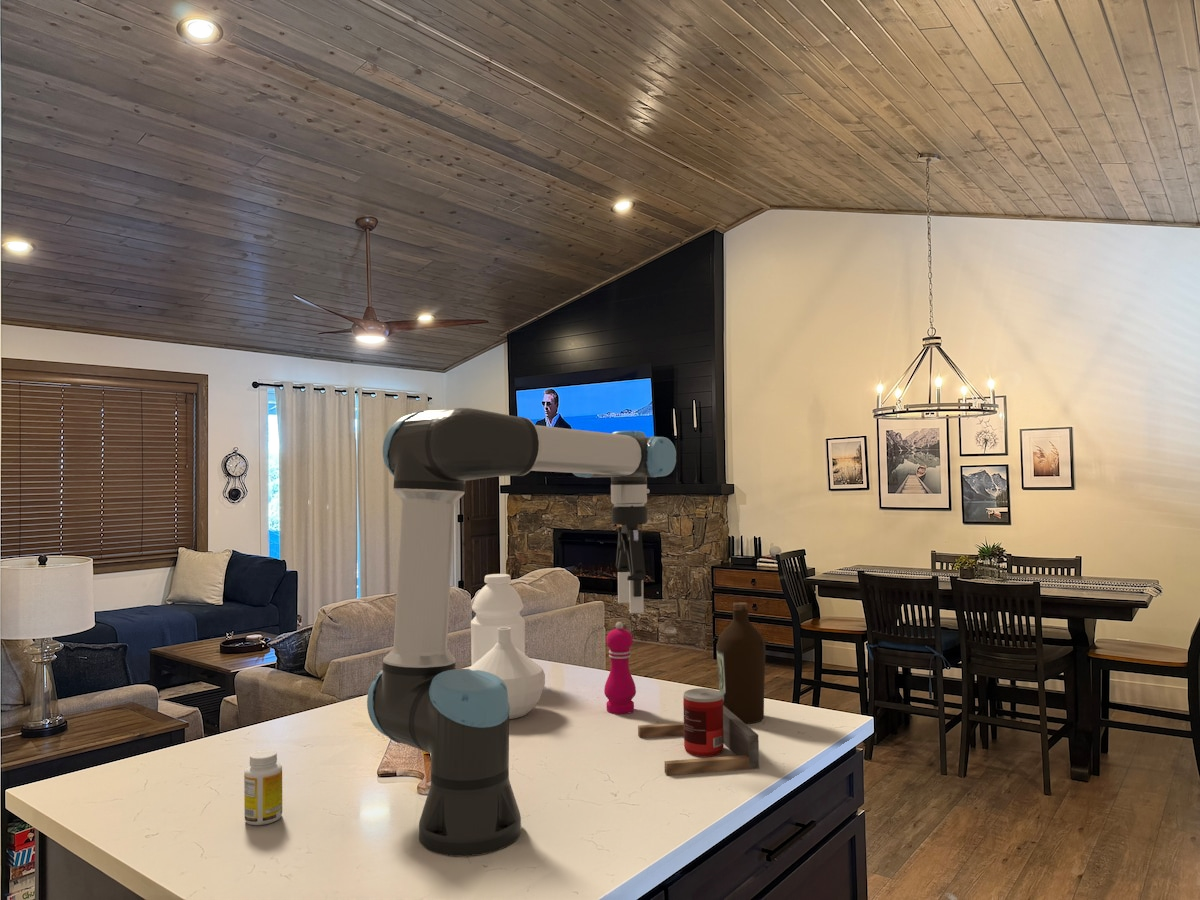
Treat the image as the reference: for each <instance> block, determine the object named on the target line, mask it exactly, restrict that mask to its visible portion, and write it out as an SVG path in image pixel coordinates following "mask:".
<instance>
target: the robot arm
mask: <svg viewBox="0 0 1200 900" xmlns="http://www.w3.org/2000/svg"><path fill="white" fill-rule="evenodd" d="M382 458H383V462H384V465H385V467H387V468H388V471H389V473H390V474H391V475H392V476H393V489H392V490H393V492H394V493H395V494H396V495H397V496H398V498H399V499H400V500H401V515H400V518H401V519H400V530H399V533H400V534H399V548H398V549H399V550H398V562H397V563H398V564H397V565H398V566H397V580H396V581H397V582H396V583H397V584H396V599H395V613H394V631H393V632H394V633H393V647H392V650H390V651H389V652H388V653H387V655H385V656H384V657H383V660H382V670H380V671H379V673H377V675H376V679H374V680H373V681H372V682H371V684H370V686H369V688H368V693H367V699H366V707H367V713H368V717H369V719H370V721H371V723H372V725H373V726H374V728H375V729H376V730H377V731H378V732H380V734H382V735H384V736H386V737H387V738H388V739H390V740H392V741H393V742H395V743H399V744H403V745H407V746H408V747H409V746H410V747H412V748H414V749H418V750H420V751H423V752H425V753H427V754H430V787H429V790H428V793H427V796H426V799H425V803H424V806H423V809H422V812H421V816H420V818H419V824H418V839H419V843H420V845H421V846H422V847H424V848H425V849H427V850H428V851H430V852H433V853H436V854H439V855H444V856H453V857H466V856H467V857H468V856H478V855H483V854H484V855H485V854H489V853H492V852H493V853H494V852H495V851H499V850H502V849H504V848H506V847H507V846H510V845H511V844H513V843H514V842H515V841H516V840H517V839H518V838H519V837H520V835H521V832H522V817H521V812H520V810H519V807H518V803H517V800H516V797H515V794H514V790H513V787H512V784H511V782H510V775H509V771H510V769H509V768H510V757H509V756H510V719H509V709H510V706H509V702H508V691H507V687H506V685H505V683H504V682H503V680H502V679H500V678H499V677H498V676H496V675H494V674H491V673H489V672H485V671H481V670H475V671H473V670H471V669H468V668H456V663H457V662H456V658H455V656H454V655H453V654H452V653H451V651H449V649H448V636H449V635H448V634H449V620H450V619H449V618H450V617H449V616H450V599H451V598H450V597H451V583H452V581H451V580H452V563H453V562H452V561H453V560H452V559H453V545H454V544H453V541H454V540H453V538H454V523H455V521H454V520H455V507H456V506H455V505H456V503H457V502H458V500H460V499H462V497H463V496H464V495H465V491H466V481H473V480H480V479H487V478H495V477H509V476H511V477H523V476H525V475H527V474H529V473H530V472H531V471H532V472H533V471H535V472H550V473H552V472H554V473H572V474H573V476H574V477H575V476H576V477H578V478H585V479H587V478H589V479H590V478H610V481H611V482H610V503H611V504H613V506H612V507H611V508H610V509H611V523H612V524H613V525H618V527H617V531H618V532H617V533H618V534H617V545H616V546H617V548H616V559H615V567H616V569H617V570H616V571H617V603H619V604H623V603H624V604H628V603H629V613H630V614H644V613H645V612H644V611H645V610H644V606H645V605H644V604H645V603H644V602H645V601H644V580H645V579H646V577H647V573H646V566H645V565H646V564H645V557H644V548H643V531H642V529H638V525H645V524H647V523H648V507H647V506H646V505H645V504H646V503H648V495H647V494H650V489H649V488H648V480H647V478H657V477H658V478H660V477H666V476H668V475H670V474H672V472H673V471H674V470H675V467H676V463H677V450H676V447H675V445H674V443H673V442H672V441H671V439H669V438H668V437H664V436H655V435H652V436H647V435H646V434H645V432H643V431H640V430H639V431H638V430H620V431H619V430H618V431H612V433H609V432H601V431H593V430H591V431H590V430H581V429H576V428H564V427H556V426H547V425H539V424H534V422H533V421H532V420H531V419H529V418H528V417H524V416H516V415H509V414H504V413H499V412H494V411H488V410H482V409H479V408H478V409H477V408H471V407H456V408H450V409H448V408H447V409H434V410H433V409H432V410H420V411H416V412H413V413H409V414H407V415H404V416H402V417H399V418H398V420H396V421H395V422H394V423H393V424H392V425H391V426H390V427H389V429H388V431H387V432H386V434H385V436H384V440H383V444H382Z"/></svg>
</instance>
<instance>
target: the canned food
mask: <svg viewBox="0 0 1200 900" xmlns="http://www.w3.org/2000/svg"><path fill="white" fill-rule="evenodd" d="M682 703H683V723H684V735H683V745H684V750H685V751H686V753H687V754H689V755H691V756H695V757H702V758H704V757H705V758H710V757H716V756H718V755H720V754H722V753H723V750H724V746H725V744H724V736H723V694H722V692H720V691H719V690H717V689H714V688H707V687H706V688H703V687H702V688H701V687H700V688H699V687H698V688H691V689H688V690H687V689H686V690H685V691H684V692H683V702H682Z"/></svg>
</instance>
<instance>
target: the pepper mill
mask: <svg viewBox="0 0 1200 900" xmlns="http://www.w3.org/2000/svg"><path fill="white" fill-rule="evenodd" d="M633 641H634V640H633V635H632V633H631V632H630V631H629V630H627V629H625V628H624V624H623V622H621V621H617V622H616V623H615V628H613V629H612V630H610V631H609V632H608V634H607V635H606V645H607V647H608V648H609V650H608V657H609V658H610V670H609V674H608V676H607V679H606V682H605V684H604V688H603V689H604V690H603V691H604V692H603V694H604V696H605V697H606V698H607V700H608V701H606V712H608V713H610V714H615V715H616V714H617V715H625V714H630V713H633V712H634V711H635V702H634V701H633V699H634V697H635V696H636V693H637V689H636V683H635V681H634V678H633V676H632V674H631V671H630V666H629V665H630V664H629V660H630V658H631V656H632V655H631V650H630V649H631V647H632V646H633V643H634V642H633Z"/></svg>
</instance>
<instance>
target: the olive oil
mask: <svg viewBox="0 0 1200 900" xmlns="http://www.w3.org/2000/svg"><path fill="white" fill-rule="evenodd" d="M732 607H733V609H732V621H731V622H730V623H729V624H728V625H727V626H726V627H725V628H724V629H723V631H722V632H721V633H720V635H719V636H718V639H717V643H716V657H717V658H716V659H717V673H718V674H717V676H718V689H719V690H718V691H720V692H722V694H723V705H724V706H725V707H726V708H727V709H728V710H730V711H731V712H732V713H733V714H734V715H736V716H737V717H738V718H739V719H740V720H741V721H743V722H744V723H745V724H754V723H759V722H761V721H763V719H764V718H765V679H766V678H765V676H766V673H765V672H766V655H767V654H766V652H767V651H766V642H765V640H764V637H763V636H762V634H761V633H760V631H759V630H757V628H756V627H755V626H754V625H753V624H752V623H751V622H750V620H749V609H748V603H747V602H745V601H744V602H742V601H739V602H737V601H736V602H733V604H732Z"/></svg>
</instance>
